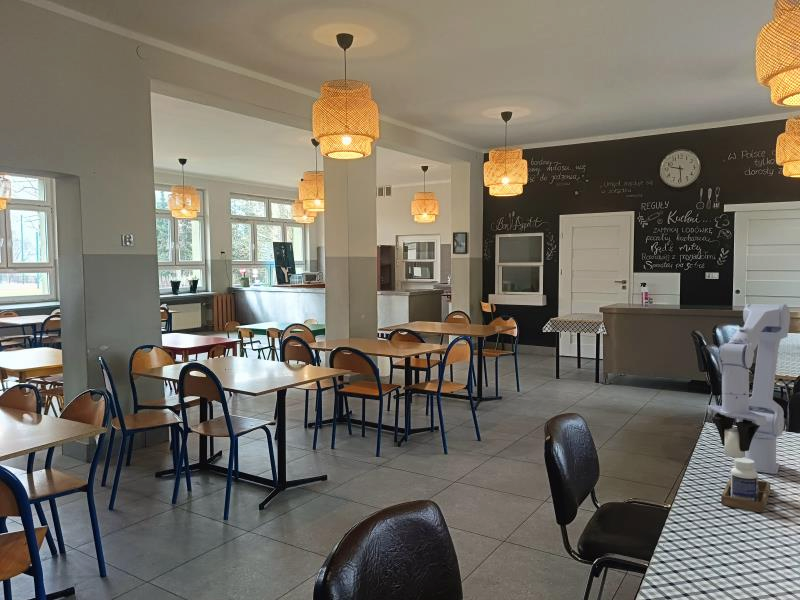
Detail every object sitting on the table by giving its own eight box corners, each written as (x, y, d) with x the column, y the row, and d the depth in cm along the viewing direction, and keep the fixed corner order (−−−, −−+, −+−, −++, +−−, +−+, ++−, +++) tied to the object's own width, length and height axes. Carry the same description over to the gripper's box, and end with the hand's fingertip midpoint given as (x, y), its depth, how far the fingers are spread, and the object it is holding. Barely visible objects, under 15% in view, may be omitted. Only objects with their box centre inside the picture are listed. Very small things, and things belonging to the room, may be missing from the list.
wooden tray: (731, 483, 145) (731, 475, 145) (770, 490, 140) (770, 482, 140) (721, 504, 132) (721, 495, 132) (763, 512, 127) (763, 503, 127)
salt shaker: (720, 453, 144) (720, 426, 144) (734, 451, 146) (734, 424, 145) (735, 458, 140) (735, 430, 140) (749, 456, 141) (749, 428, 141)
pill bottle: (762, 507, 130) (762, 464, 129) (735, 506, 131) (735, 463, 130) (752, 498, 135) (752, 457, 135) (727, 497, 136) (727, 456, 136)
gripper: (698, 389, 148) (698, 442, 148) (750, 399, 134) (750, 458, 135) (719, 386, 150) (719, 439, 151) (772, 397, 137) (772, 454, 137)
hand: (735, 447), depth 143 cm, fingers closed on salt shaker, 4 cm apart
